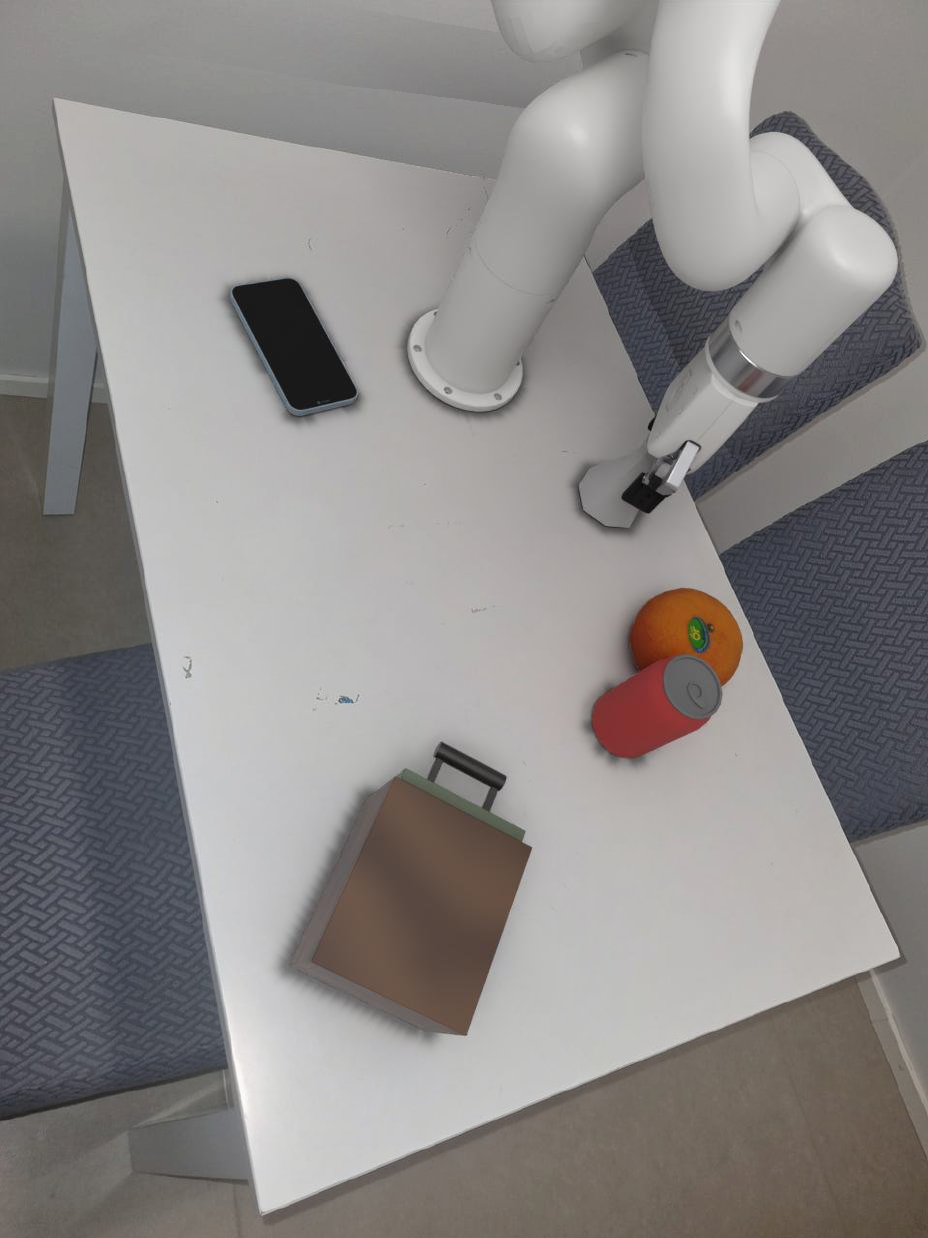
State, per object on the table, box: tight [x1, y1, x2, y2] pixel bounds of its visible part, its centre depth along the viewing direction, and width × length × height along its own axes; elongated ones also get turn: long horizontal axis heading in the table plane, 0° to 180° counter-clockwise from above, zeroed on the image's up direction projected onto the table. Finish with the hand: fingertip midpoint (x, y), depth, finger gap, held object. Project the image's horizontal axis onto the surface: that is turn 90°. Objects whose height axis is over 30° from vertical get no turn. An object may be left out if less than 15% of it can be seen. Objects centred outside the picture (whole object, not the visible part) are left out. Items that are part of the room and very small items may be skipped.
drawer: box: [395, 741, 527, 842], centre depth 65 cm, size 17×10×7 cm, turn 157°
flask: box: [578, 432, 674, 529], centre depth 87 cm, size 7×7×10 cm
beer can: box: [591, 654, 723, 759], centre depth 76 cm, size 7×7×12 cm
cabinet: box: [288, 775, 533, 1037], centre depth 64 cm, size 14×12×9 cm
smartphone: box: [229, 276, 359, 417], centre depth 84 cm, size 7×1×15 cm
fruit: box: [629, 587, 744, 687], centre depth 82 cm, size 11×10×8 cm
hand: (647, 468), depth 85 cm, fingers open, 9 cm apart
